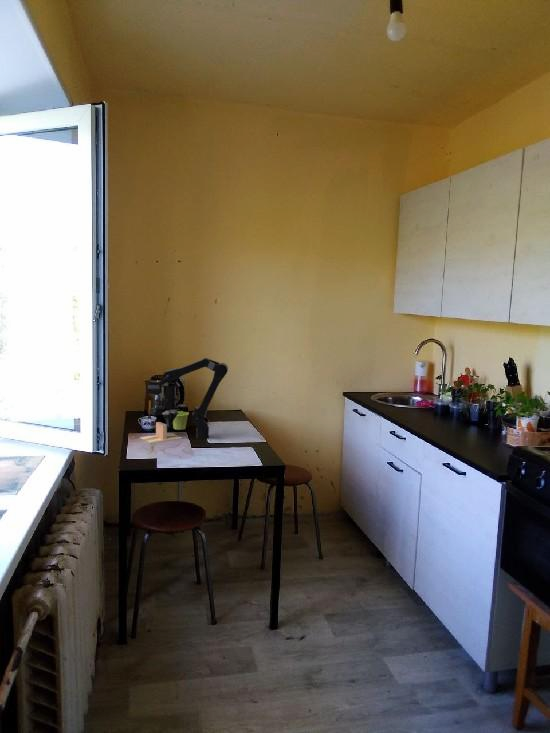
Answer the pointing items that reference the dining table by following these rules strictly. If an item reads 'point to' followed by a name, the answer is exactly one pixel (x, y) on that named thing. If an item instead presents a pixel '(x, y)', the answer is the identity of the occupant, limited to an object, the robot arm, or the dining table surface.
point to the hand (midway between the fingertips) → (169, 427)
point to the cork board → (155, 439)
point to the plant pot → (180, 421)
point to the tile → (161, 430)
